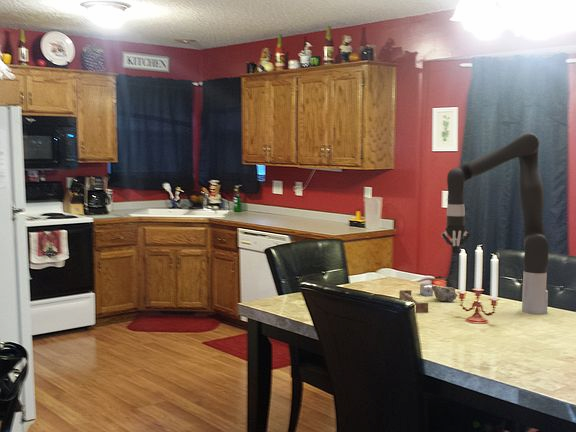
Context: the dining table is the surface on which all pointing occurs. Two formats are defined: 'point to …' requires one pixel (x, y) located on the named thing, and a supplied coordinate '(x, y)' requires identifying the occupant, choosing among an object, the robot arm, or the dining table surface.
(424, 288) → the tin
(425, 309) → the stand
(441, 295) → the rock
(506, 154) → the robot arm
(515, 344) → the dining table surface
